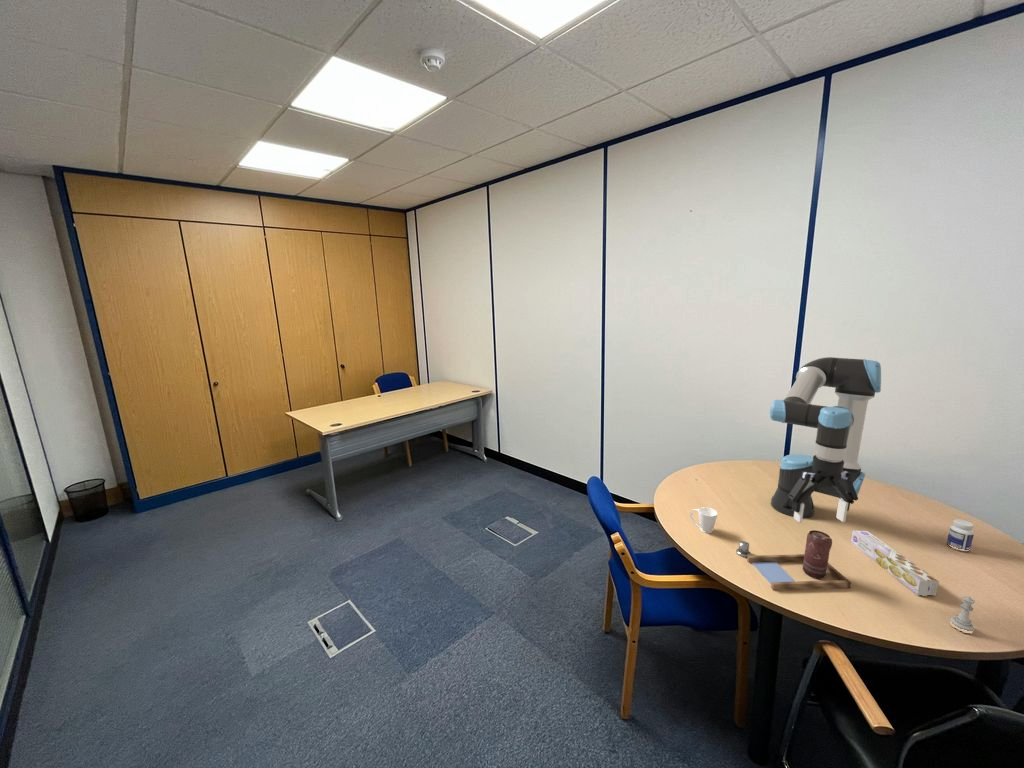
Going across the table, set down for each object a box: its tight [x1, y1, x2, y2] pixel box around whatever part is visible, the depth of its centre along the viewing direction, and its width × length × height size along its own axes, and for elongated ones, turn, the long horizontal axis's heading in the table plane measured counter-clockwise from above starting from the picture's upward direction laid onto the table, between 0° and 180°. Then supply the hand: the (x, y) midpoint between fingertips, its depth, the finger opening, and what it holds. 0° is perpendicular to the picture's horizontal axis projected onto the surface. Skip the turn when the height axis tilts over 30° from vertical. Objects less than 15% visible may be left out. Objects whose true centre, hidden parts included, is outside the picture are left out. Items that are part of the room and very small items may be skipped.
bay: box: [746, 553, 852, 591], centre depth 132 cm, size 24×14×2 cm, turn 90°
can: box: [802, 530, 833, 580], centre depth 131 cm, size 6×6×14 cm
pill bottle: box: [946, 518, 975, 550], centre depth 142 cm, size 6×6×10 cm
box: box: [850, 529, 940, 597], centre depth 133 cm, size 27×5×6 cm, turn 176°
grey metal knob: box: [735, 540, 752, 559], centre depth 142 cm, size 4×4×4 cm
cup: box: [689, 506, 718, 534], centre depth 158 cm, size 7×10×8 cm
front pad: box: [751, 562, 796, 585], centre depth 132 cm, size 8×11×1 cm
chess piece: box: [950, 595, 976, 631], centre depth 109 cm, size 4×4×10 cm
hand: (819, 520), depth 128 cm, fingers open, 13 cm apart
